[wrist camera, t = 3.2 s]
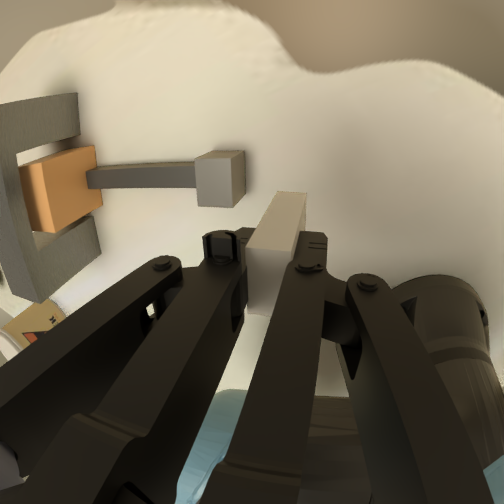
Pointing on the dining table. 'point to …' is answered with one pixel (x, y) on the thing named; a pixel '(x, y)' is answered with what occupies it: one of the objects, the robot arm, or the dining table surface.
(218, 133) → the dining table surface
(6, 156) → the housing
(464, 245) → the dining table surface
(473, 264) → the dining table surface
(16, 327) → the coffee cup
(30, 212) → the plug
